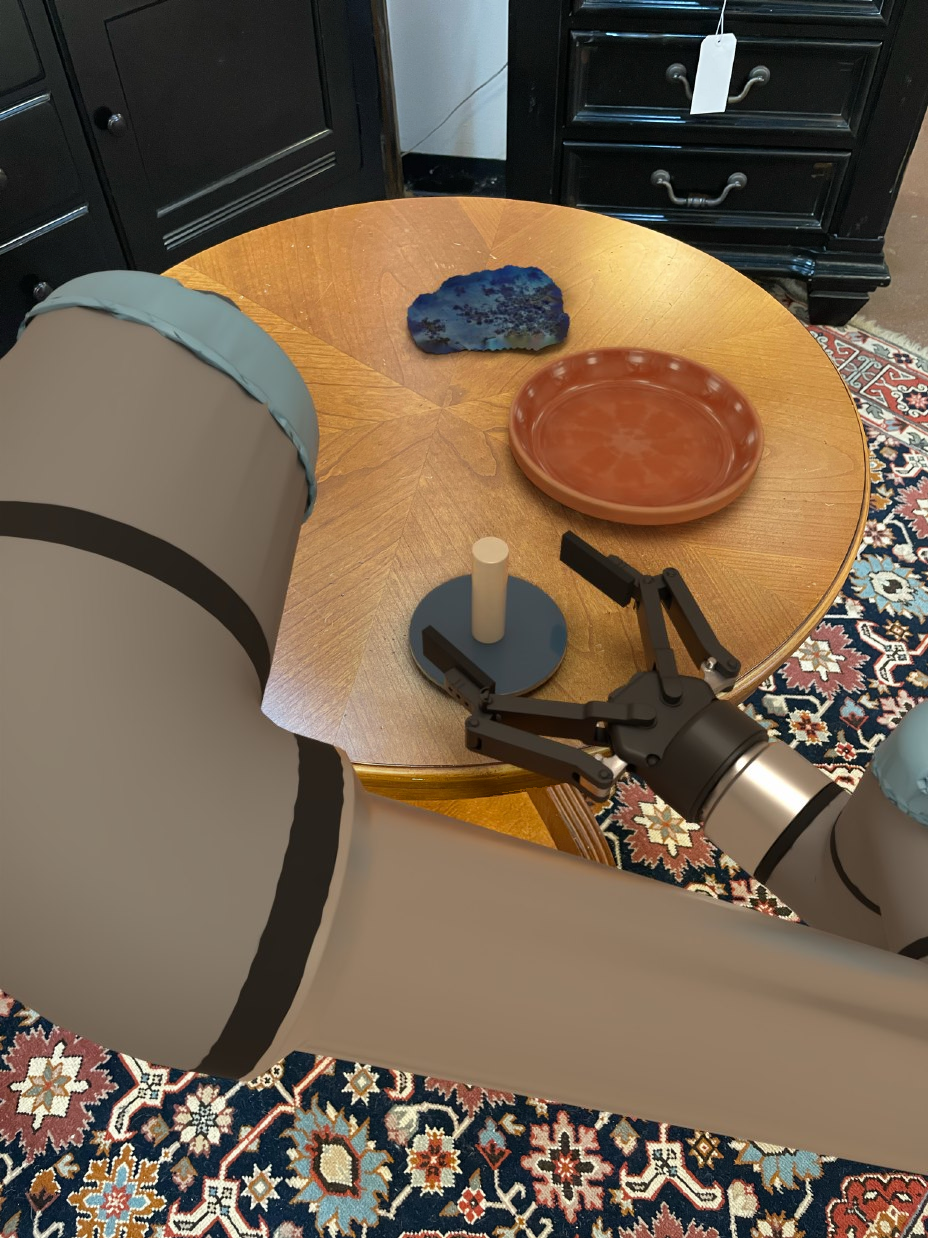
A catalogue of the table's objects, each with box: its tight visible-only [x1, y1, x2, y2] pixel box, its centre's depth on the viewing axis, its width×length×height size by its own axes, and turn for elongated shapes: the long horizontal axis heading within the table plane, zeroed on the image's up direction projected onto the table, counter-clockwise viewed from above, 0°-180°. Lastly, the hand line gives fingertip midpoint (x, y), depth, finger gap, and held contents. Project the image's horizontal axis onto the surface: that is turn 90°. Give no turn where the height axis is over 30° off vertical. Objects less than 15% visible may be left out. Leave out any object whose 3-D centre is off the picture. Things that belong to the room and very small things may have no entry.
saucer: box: [507, 346, 766, 526], centre depth 87 cm, size 23×23×4 cm
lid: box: [408, 536, 569, 697], centre depth 70 cm, size 12×12×10 cm
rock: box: [406, 264, 571, 355], centre depth 102 cm, size 15×17×2 cm
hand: (497, 590), depth 69 cm, fingers open, 13 cm apart
